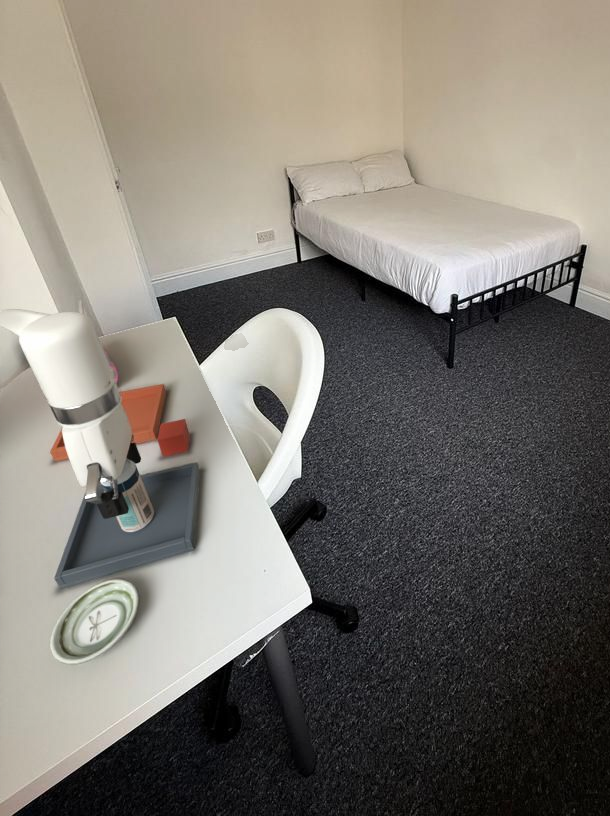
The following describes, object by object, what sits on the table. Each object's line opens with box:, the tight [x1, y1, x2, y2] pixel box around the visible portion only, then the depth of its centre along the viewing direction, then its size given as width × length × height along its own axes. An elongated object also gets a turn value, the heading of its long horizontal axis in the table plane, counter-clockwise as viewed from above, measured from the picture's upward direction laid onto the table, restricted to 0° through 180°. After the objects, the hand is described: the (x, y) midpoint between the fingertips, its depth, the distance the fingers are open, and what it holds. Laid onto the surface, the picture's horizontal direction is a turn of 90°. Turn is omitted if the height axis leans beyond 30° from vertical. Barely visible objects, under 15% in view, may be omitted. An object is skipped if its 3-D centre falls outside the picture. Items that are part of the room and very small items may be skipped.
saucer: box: [49, 578, 140, 666], centre depth 54 cm, size 10×10×2 cm
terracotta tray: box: [49, 383, 167, 462], centre depth 88 cm, size 18×16×3 cm
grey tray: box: [53, 461, 201, 590], centre depth 67 cm, size 18×16×3 cm
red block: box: [156, 418, 191, 458], centre depth 81 cm, size 4×4×4 cm
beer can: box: [101, 458, 154, 532], centre depth 65 cm, size 5×5×12 cm
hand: (124, 487), depth 64 cm, fingers open, 9 cm apart
